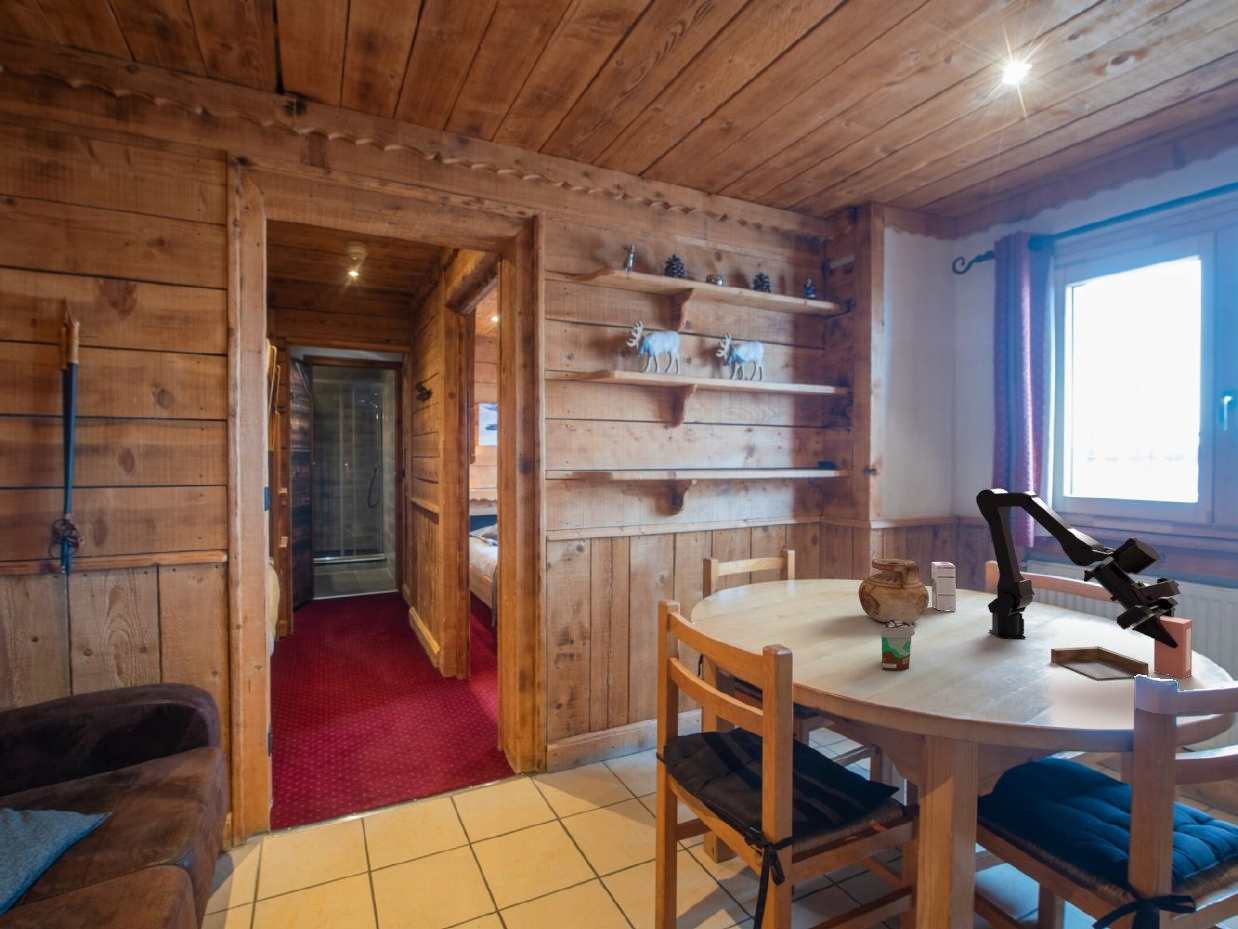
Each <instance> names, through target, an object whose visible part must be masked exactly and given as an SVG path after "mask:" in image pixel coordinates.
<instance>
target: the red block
mask: <svg viewBox="0 0 1238 929" xmlns="http://www.w3.org/2000/svg"><path fill="white" fill-rule="evenodd" d="M1160 623H1161V624H1162V625H1163V627H1164V628H1165V629H1166V630H1167V632H1168V633H1169V634H1170V635H1171V636H1172V638H1173V639H1174V640H1175V642H1176V643H1177V644H1178V647H1176V648H1171V647H1169V646H1167V645H1165V644H1163V643H1161V642H1159V641H1157V640H1155V639H1153V640H1154V642H1153V643H1154V644H1153V645H1154V646H1153V648H1154V650H1153V652H1154V653H1153V654H1154V655H1153V658H1154V660H1153V663H1154V664H1153V667H1154V668H1153V670H1154V671H1156V672H1159V673H1163V674H1162V675H1164V674H1169V675H1172V676H1176V677H1175V678H1177V677H1179V679H1181V678H1184V677H1186V676H1188V675H1190V674H1193V673H1192V670H1193V669H1192V668H1193V666H1192V665H1193V664H1192V663H1193V662H1192V660H1193V655H1192V652H1193V650H1192V649H1193V646H1192V644H1193V620H1192V619H1188V618H1187V619H1186V618H1181V617H1175V616H1174V617H1170V616H1164V615H1163V616H1160ZM1154 671H1153V672H1154ZM1159 673H1158V674H1159ZM1172 676H1171V677H1172ZM1190 676H1191V675H1190ZM1188 677H1189V676H1188ZM1186 678H1187V677H1186ZM1184 679H1185V678H1184Z"/></svg>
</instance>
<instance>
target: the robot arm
mask: <svg viewBox="0 0 1238 929" xmlns="http://www.w3.org/2000/svg"><path fill="white" fill-rule="evenodd" d="M975 502H976V506H977V507H978V511H979V512H980V514H981V516H982V517H983V518H984V520H985V521H986V522H987V524H988V529H989V533H990V537H991V542H992V546H993V551H994V556H995V561H996V565H997V570H998V575H999V577H998V582H997V585H996V593H997V594H996V596H997V597H996V598H995V599H993V600H992V601H991V602H989V603H988V604H987V609H988V610H989V613H991V622H992V623H991V629H988V632H989V633H991V634H993V635H994V636H997V637H998V638H1001V639H1026V635H1024V634H1025V619H1024V618H1023V613H1024V612H1025V610H1026V609H1027V607H1028V606H1030V604H1032V602H1033V600H1034V596H1035V595H1036V594H1035V591H1034V589H1033V584H1032V580H1031V578H1029V579H1025V577H1024V576H1023V575H1022V574H1021V571H1020V567H1019V563H1018V559H1017V554H1016V550H1015V545H1014V541H1013V536H1012V533H1011V527H1010V524H1009V518H1010V515H1011V514H1010V513H1011V510H1012V509H1011V508H1013V507H1019V508H1022V509H1023V510H1024V511H1025V512H1026V513H1027V514H1028V515H1029V516H1030V517H1031V518H1032V519H1033V520H1035V522H1037V523H1038V524H1039V525H1040V526H1041V527H1043V528H1044V529H1045V531H1047V532H1048V533H1049V534H1050V535H1051V536H1052V537H1054V538H1055V539H1056V541H1057V542H1058V543H1059V544H1060V547H1061V549H1062V551H1063V552H1064V553H1065V555H1066V556H1067V558H1068V559H1069V560H1070V561H1071V562H1072V563H1073V564H1075V565H1076V566H1078V567H1088V566H1095V565H1096V566H1095V567H1094V568H1092V569H1085V570H1083V573H1084V577H1083V582H1085V583H1089V582H1092V581H1094V580H1095V581H1097V583H1098V584H1099V585H1100V586H1101V587H1102V588H1103V589H1104V590H1105V591H1106V592H1108V594H1109V595H1110V596H1111V597H1110V598H1109V600H1111V601H1112V602H1113V603H1115V602H1117V603H1118V604H1119V605H1120V606H1121V607H1122V608H1123V609H1124V610H1125V611H1124V612H1123V613H1121V614H1119V615H1118V616H1116V624H1117V625H1118V626H1119V627H1120V628H1121V629H1122V630H1123V631H1125V630H1127V629H1129V628H1131V631H1135V632H1137V633H1140V634H1142V635H1144V636H1147V637H1149V638H1151V639H1153V640H1154V639H1155V640H1157V641H1159V642H1161V643H1163V644H1165V645H1167V646H1169V647H1171V648H1176V647H1178V644H1177V643H1176V642H1175V640H1174V639H1173V638H1172V636H1171V635H1170V634H1169V633H1168V632H1167V630H1166V629H1165V628H1164V627H1163V625H1162V624H1161V623H1160V616H1163V615H1164V616H1170V617H1175V612H1176V606H1178V605H1179V604H1180V603H1179V602H1178V601H1177V600H1176V599H1175V598H1173V597H1174V596H1176V595H1180V594H1181V591H1180V589H1179V586H1180V585H1179V583H1178V582H1177V581H1175V580H1174V579H1171V578H1170V577H1169V576H1163V577H1158V578H1156V579H1157V580H1156V583H1153V584H1150V585H1146V584H1144V582H1143V581H1135V580H1134V579H1133V578H1132V577H1131V576H1130V574H1134V575H1136V576H1137V575H1139V574H1141V573H1143V572H1144V571H1145V570H1147V569H1149V568H1151V566H1154V564H1156V563H1158V562H1159V561H1160V560H1161V556H1160V555H1159V553H1158V552H1157V550H1155V549H1154V548H1153V547H1152V546H1149V545H1148V544H1146V543H1145V542H1143V541H1141V540H1139V539H1138V538H1136V537H1129V538H1128V539H1126V541H1125V542H1124V543H1123V544H1122V545H1120V546H1119V547H1117V548H1116V549H1114V548H1110V547H1105V546H1104V545H1103V544H1102V543H1100V542H1099V541H1098V540H1096V539H1094V538H1092V537H1091V536H1089V535H1088V534H1085V533H1083V532H1080V531H1079V530H1077V529H1075V528H1074V527H1072V526H1071V525H1070V524H1069V523H1068V522H1067V521H1066V520H1065V519H1064V518H1062V517H1061V516H1060V515H1059V514H1058V513H1057V512H1055V511H1054V509H1052V508H1051V507H1050V506H1049V505H1047V503H1045V502H1044V501H1042V500H1041V498H1040V497H1039V496H1038V495H1037V494H1036V493H1035V492H1033V491H1020V492H1019V491H1014V492H1013V491H1009V492H1008V491H1006V490H1004V489H1002V488H987V489H982V490H980V491H978V493H977V495H976V497H975ZM1109 560H1111V561H1109ZM1105 561H1109V562H1108V563H1107V564H1105V563H1102V562H1105ZM1097 564H1098V565H1097ZM1134 624H1135V626H1133V627H1131V626H1132V625H1134Z"/></svg>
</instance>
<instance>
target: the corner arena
mask: <svg viewBox="0 0 1238 929" xmlns="http://www.w3.org/2000/svg"><path fill="white" fill-rule="evenodd" d="M1050 662H1051V663H1053V664H1056V665H1059V666H1061V667H1064V668H1066V669H1068V670H1071V671H1074V672H1075V673H1079V674H1080V675H1083V676H1085V677H1087V678H1091V679H1092V680H1096V681H1106V680H1107V681H1108V680H1124V679H1125V680H1126V679H1135V678H1134V676H1136V675H1137V674H1141V675H1147V676H1148V677H1149V663H1148V662H1145V661H1142V660H1140V659H1136V658H1135V657H1132V656H1131V657H1130V656H1127V655H1124V654H1122V653H1118V652H1115V651H1114V650H1110V649H1108V648H1104V647H1102V646H1098V645H1097V646H1082V647H1081V646H1080V647H1079V646H1078V647H1061V648H1060V647H1059V648H1051V649H1050Z"/></svg>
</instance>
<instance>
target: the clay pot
mask: <svg viewBox="0 0 1238 929" xmlns="http://www.w3.org/2000/svg"><path fill="white" fill-rule="evenodd" d="M871 567H872V568H873V569H876V570H879V571H882V572H881V573H875V574H873V575H869V576H868V577H866V578H864V580H862V582H861V583H860V585H859V587H858V592H857V593H858V599H859V602H860V605H861V607H862V610H863V611H864V613H865V614H866V615H867V616H868V617H869V618H871V619H873V620H875V621H877V620H878V621H877V622H880V621H881V622H880V623H884V622H886V624H887V623H889V621H890V616H891V617H898V618H902V619H905V620H908V621H910V622H911V623H912V624H913V623H914V622H916V621H918V620H919V619H921V618H922V616H924V615H925V612H926V610H927V609H928V605H929V602H930V593H929V592H928V589H927V586H926V585H925V584H924V583H923V582H922V581H921V580H920V579H919V574H920V567H919V565H918V564H917V563H916V561H914V560H912V559H906V558H905V559H904V558H892V557H891V558H888V557H887V558H884V557H883V558H875V559H872V560H871Z"/></svg>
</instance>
